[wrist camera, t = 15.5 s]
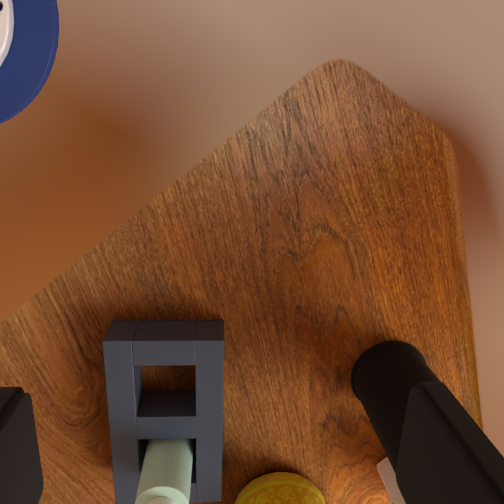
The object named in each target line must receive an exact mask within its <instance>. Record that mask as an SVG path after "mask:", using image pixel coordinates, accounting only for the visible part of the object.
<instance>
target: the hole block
mask: <svg viewBox="0 0 504 504" xmlns="http://www.w3.org/2000/svg"><path fill="white" fill-rule="evenodd" d="M102 343H103V355H104V367H105V379H106V392H107V404H108V416H109V428H110V440H111V453H112V465H113V477H114V489H115V501H116V504H135V500H136V495H137V490H138V486H139V481H140V476H141V472H142V467H143V462H144V458H145V453H146V439H181V438H196V454H193V461H192V474H191V487H190V500H189V503H195V502H197V503H201V502H221V501H222V443H223V384H224V320H198V321H197V320H140V321H139V320H113V321H112V323H111V325H110V327H109V329H108V331H107V333H106V335H105V337H104V339H103V341H102ZM172 365H195V368H196V391H147V392H143V379H142V366H172Z"/></svg>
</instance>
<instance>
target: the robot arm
mask: <svg viewBox="0 0 504 504" xmlns="http://www.w3.org/2000/svg"><path fill="white" fill-rule="evenodd" d="M1 4H3V9H2V10H0V66H1V65H2V63H3V61H4V59H5V58H6V56H7V54H8V51H9V48H10V45H11V42H12V38H13V29H14V12H13V2H12V0H0V5H1ZM396 482H397V485H398V488H399V490H400V492H401V495H402V497H403V499H404V501H405V503H406V504H504V458H503V456H502V455H501V454H500V452H499V451H498V450H497V449H496V447H495V446H494V445H493V444H492V443H491V441H490V440H489V439H488V438H487V436H486V435H485V434H484V433H483V431H482V430H481V429H480V428H479V426H478V425H477V424H476V423H475V421H474V420H473V419H472V418H471V416H470V415H469V414H468V413H467V411H466V410H465V409H464V408H463V406H462V405H461V404H460V403H459V401H458V400H457V399H456V398H455V397H454V395H453V394H452V393H451V392H450V390H449V389H448V388H447V387H446V385H445V384H444V383H442V382H419V383H418V384H417V385H416V388H412V389H411V390H410V392H409V397H408V403H407V408H406V414H405V420H404V425H403V431H402V437H401V443H400V448H399V454H398V460H397V466H396ZM42 490H43V475H42V469H41V462H40V455H39V448H38V441H37V435H36V428H35V421H34V414H33V407H32V400H31V396H30V394H29V393H24V391H23V389H22V388H21V387H0V504H38V502H39V500H40V498H41V495H42Z"/></svg>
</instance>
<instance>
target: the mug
mask: <svg viewBox="0 0 504 504" xmlns="http://www.w3.org/2000/svg"><path fill="white" fill-rule="evenodd" d="M234 504H327V502H326V501H325V500H324V497H323V496H322V494H321V492H320V491H319V489H318V488H317V487H316V486H315V485H314V484H313V483H312V482H311V481H310V480H308V479H306V478H304V477H302V476H300V475H298V474H293V473H288V472H274V473H270V474H266V475H263V476H261V477H258V478H256V479H254V480H252V481H251V482H250V483H249V484H247V485H246V486H245V487H244V488H243V489H242V490H241V492H240V493H239V494H238V497H237V499H236V501H235V503H234Z"/></svg>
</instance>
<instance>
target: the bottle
mask: <svg viewBox="0 0 504 504" xmlns="http://www.w3.org/2000/svg"><path fill="white" fill-rule="evenodd" d="M193 448H194V438H181V439H148V444H147V448H146V453H145V458H144V462H143V467H142V472H141V476H140V481H139V486H138V490H137V495H136V500H135V504H189V500H190V487H191V474H192V461H193Z"/></svg>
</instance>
